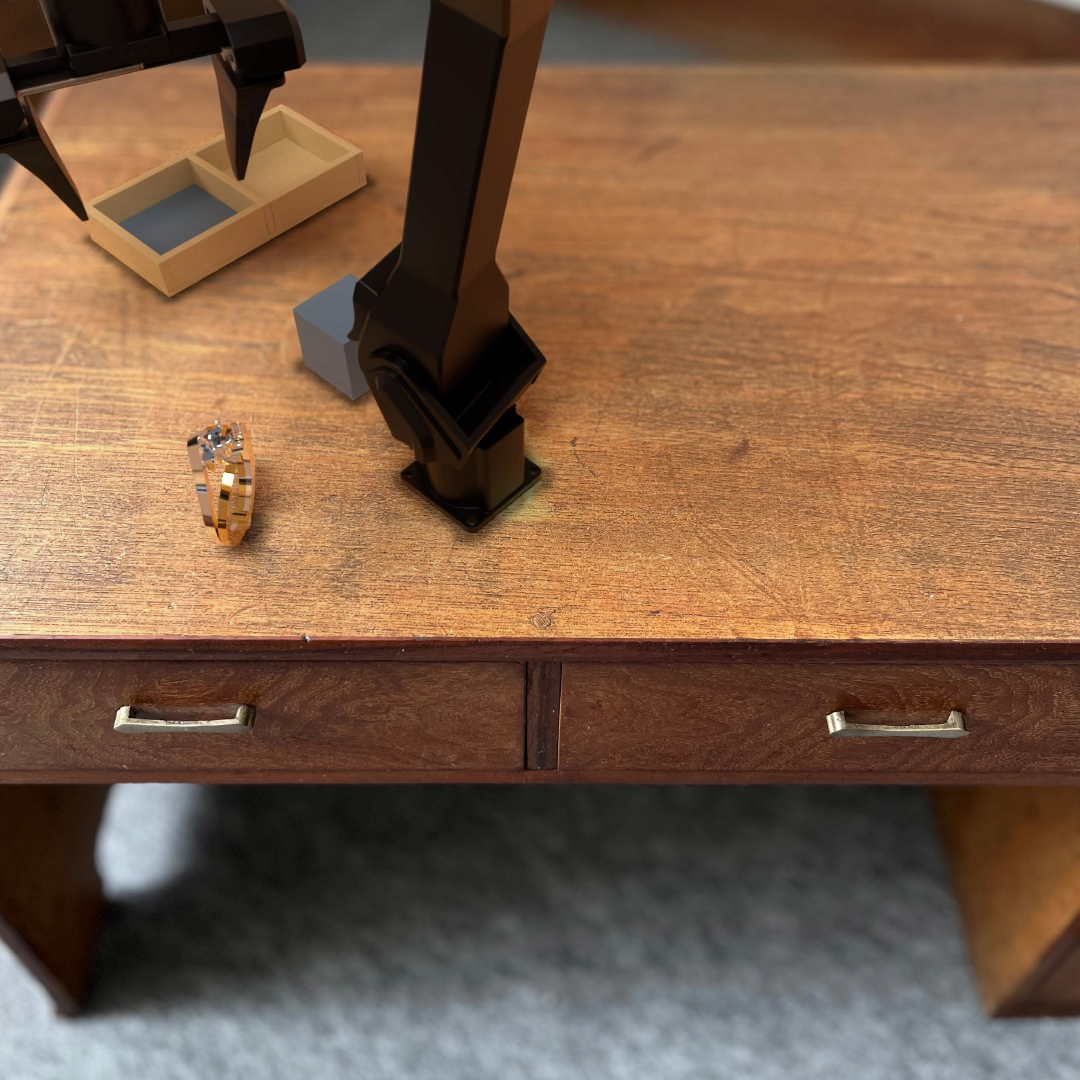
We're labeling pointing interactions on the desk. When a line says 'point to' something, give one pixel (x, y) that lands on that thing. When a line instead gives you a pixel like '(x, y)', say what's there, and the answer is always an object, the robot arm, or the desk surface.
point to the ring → (224, 478)
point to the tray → (223, 200)
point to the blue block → (331, 337)
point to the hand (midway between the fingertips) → (163, 196)
